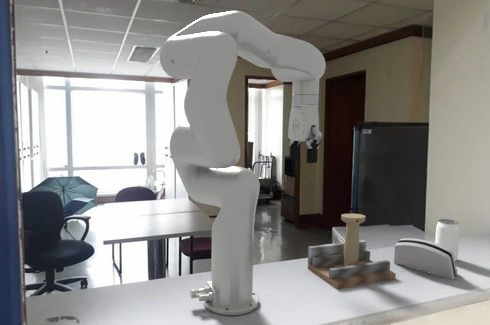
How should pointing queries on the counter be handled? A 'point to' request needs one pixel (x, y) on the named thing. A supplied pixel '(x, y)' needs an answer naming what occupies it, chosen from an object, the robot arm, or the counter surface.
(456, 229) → the can
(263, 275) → the counter surface
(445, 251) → the grey curved slotted block
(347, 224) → the handle
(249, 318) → the counter surface
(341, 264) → the track
